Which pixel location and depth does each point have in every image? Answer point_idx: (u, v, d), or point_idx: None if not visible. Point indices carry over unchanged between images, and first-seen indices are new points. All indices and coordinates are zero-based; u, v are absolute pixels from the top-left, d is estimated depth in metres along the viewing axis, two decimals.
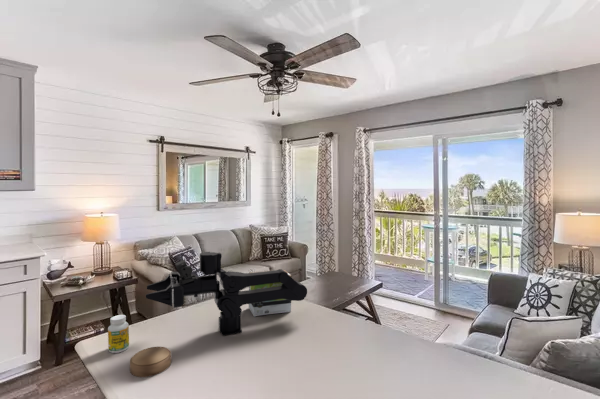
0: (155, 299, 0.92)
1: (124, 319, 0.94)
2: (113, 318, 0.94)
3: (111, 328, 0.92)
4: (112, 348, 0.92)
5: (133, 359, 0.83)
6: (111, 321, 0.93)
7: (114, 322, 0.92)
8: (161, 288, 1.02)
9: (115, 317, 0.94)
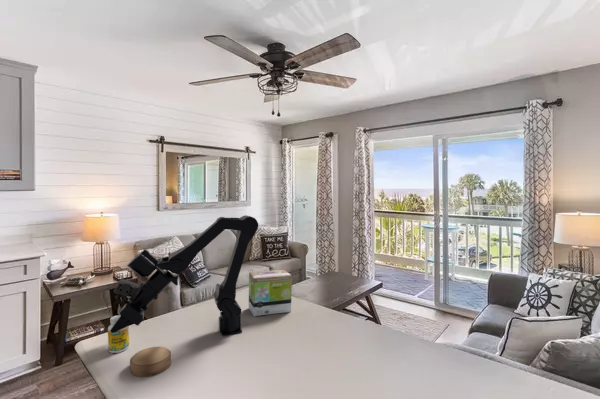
0: (120, 328, 0.91)
1: None
2: (113, 318, 0.94)
3: (111, 328, 0.92)
4: (112, 347, 0.92)
5: (133, 359, 0.83)
6: (111, 321, 0.93)
7: (114, 322, 0.92)
8: None
9: (115, 317, 0.94)
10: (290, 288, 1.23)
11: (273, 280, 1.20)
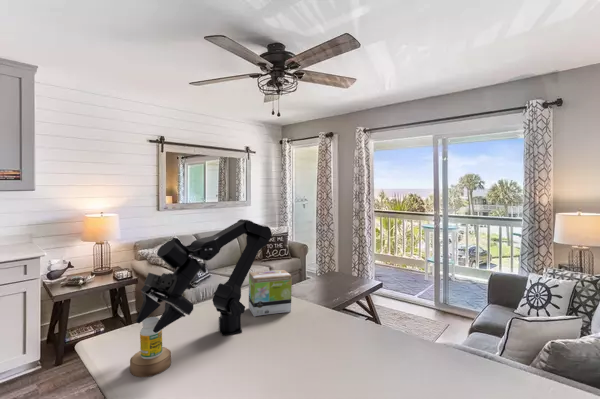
0: (165, 325, 0.83)
1: (158, 320, 0.86)
2: (147, 321, 0.84)
3: (148, 332, 0.83)
4: (151, 353, 0.83)
5: (133, 359, 0.83)
6: (147, 325, 0.83)
7: (151, 325, 0.83)
8: (149, 310, 0.90)
9: (147, 320, 0.85)
10: (290, 288, 1.23)
11: (273, 280, 1.20)
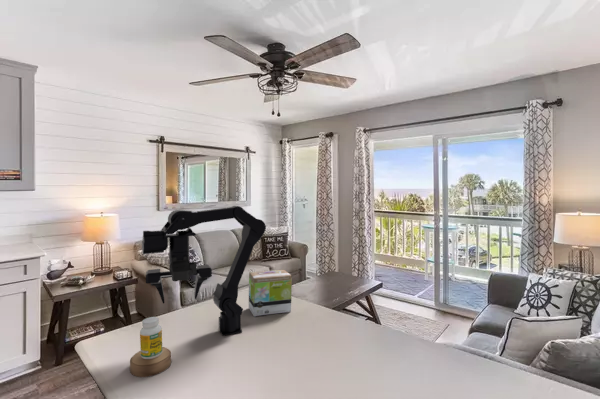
0: None
1: (158, 320, 0.86)
2: (147, 321, 0.84)
3: (148, 332, 0.83)
4: (151, 353, 0.83)
5: (133, 359, 0.83)
6: (147, 324, 0.83)
7: (151, 324, 0.83)
8: None
9: (147, 320, 0.85)
10: (290, 288, 1.23)
11: (273, 280, 1.20)
